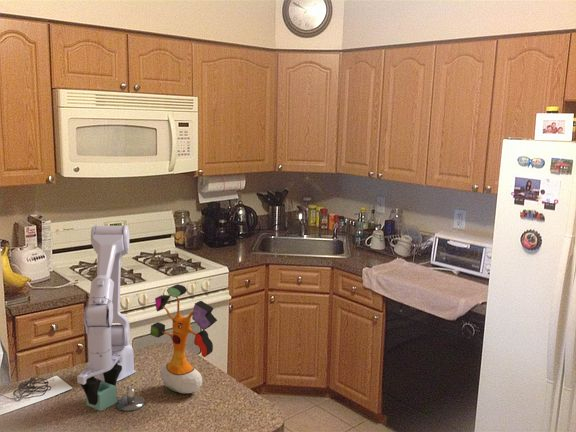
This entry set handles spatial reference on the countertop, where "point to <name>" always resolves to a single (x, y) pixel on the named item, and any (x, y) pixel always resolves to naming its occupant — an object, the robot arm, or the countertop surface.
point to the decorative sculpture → (184, 342)
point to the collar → (105, 396)
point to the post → (130, 401)
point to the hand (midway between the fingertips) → (101, 397)
